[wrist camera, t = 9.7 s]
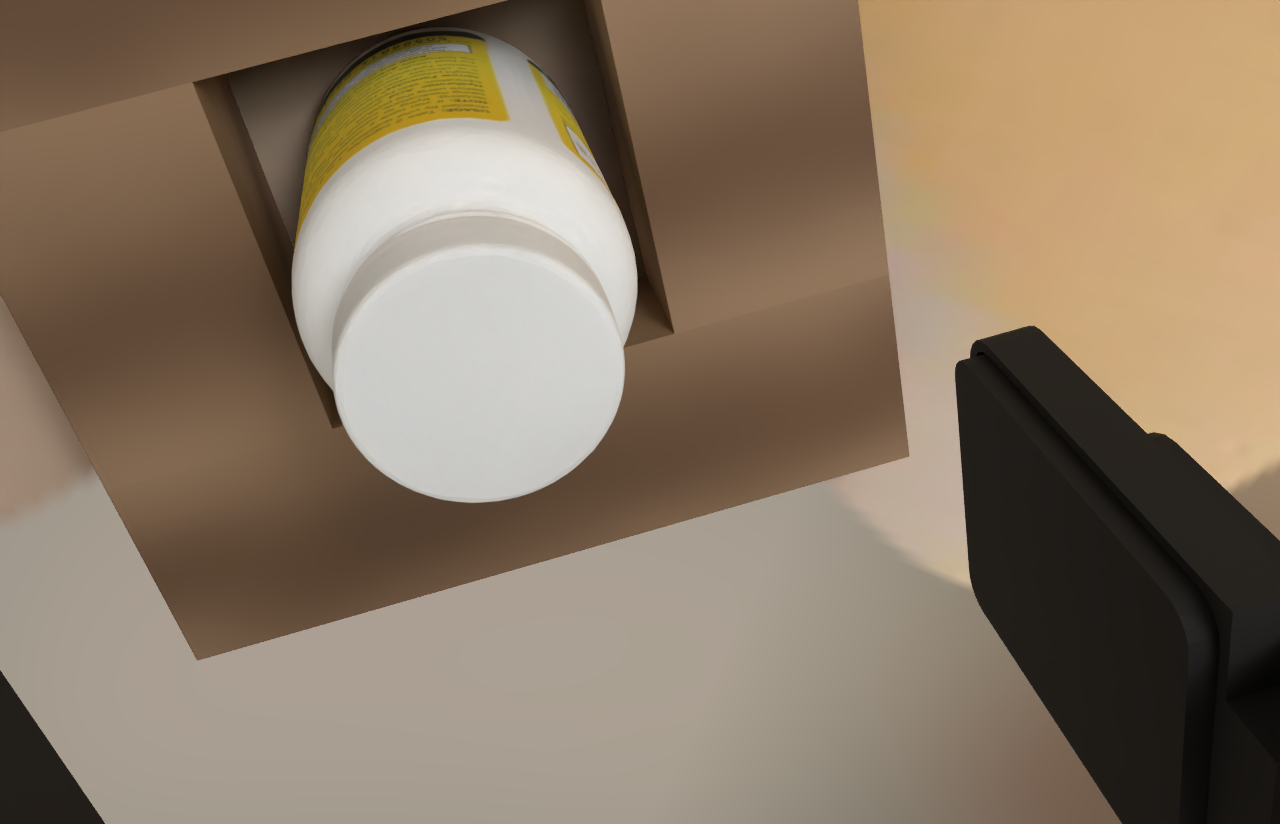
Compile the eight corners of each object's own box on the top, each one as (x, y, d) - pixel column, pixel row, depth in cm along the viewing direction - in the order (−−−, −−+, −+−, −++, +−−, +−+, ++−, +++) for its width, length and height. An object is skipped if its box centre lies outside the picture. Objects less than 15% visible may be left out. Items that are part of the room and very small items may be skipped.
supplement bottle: (266, 215, 25) (209, 466, 16) (380, -31, 23) (381, 109, 14) (504, 320, 27) (561, 591, 18) (625, 102, 25) (751, 293, 17)
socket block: (-155, -157, 20) (-232, -139, 18) (760, -381, 21) (813, -396, 19) (213, 576, 29) (197, 660, 26) (862, 392, 29) (909, 455, 27)
